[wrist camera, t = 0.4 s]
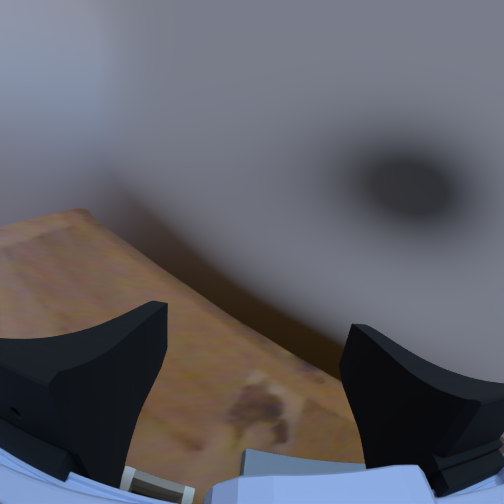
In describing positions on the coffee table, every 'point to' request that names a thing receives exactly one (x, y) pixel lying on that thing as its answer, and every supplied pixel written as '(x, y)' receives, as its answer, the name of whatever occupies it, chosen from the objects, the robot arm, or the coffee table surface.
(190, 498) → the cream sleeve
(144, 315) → the robot arm
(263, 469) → the pin board
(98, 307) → the coffee table surface
